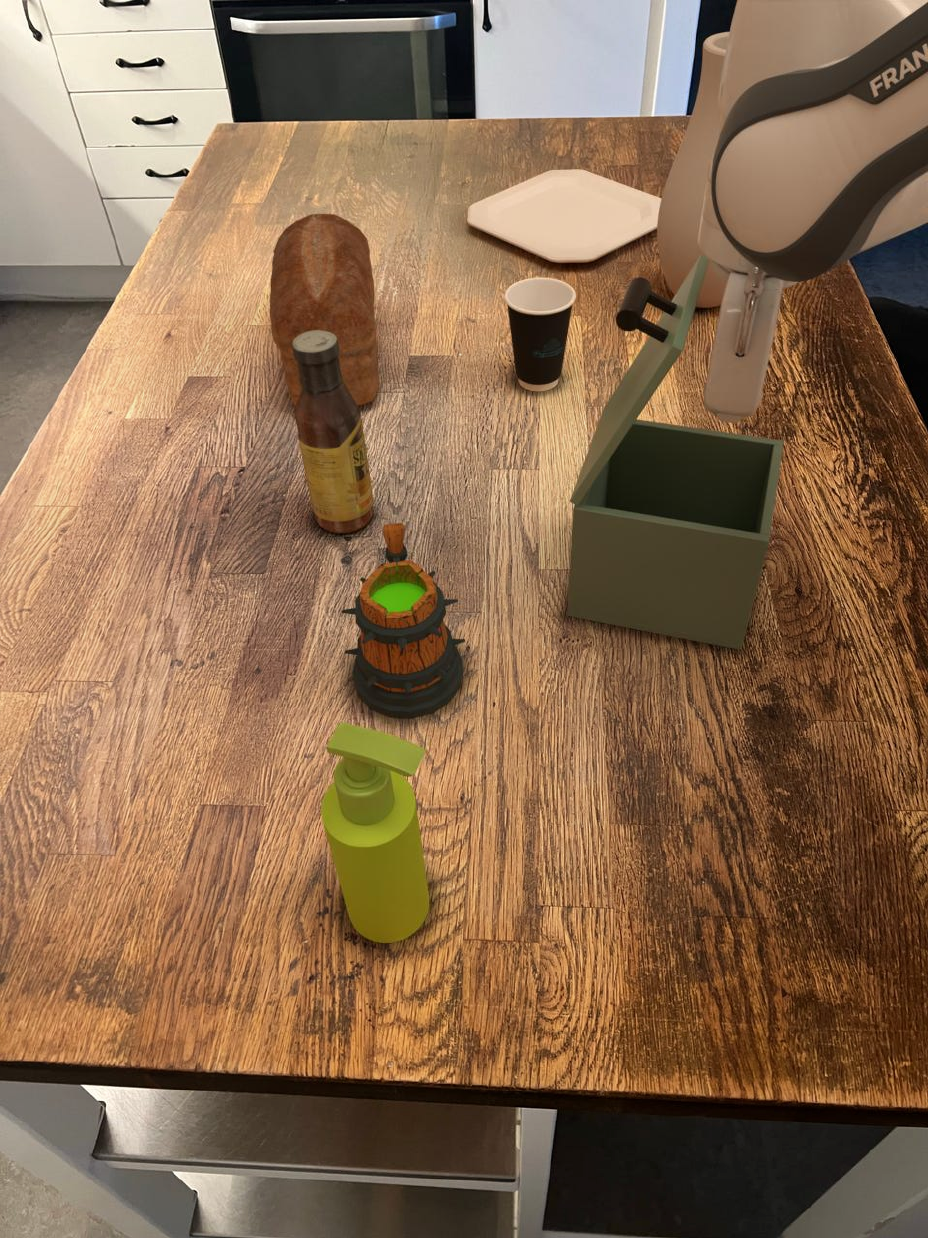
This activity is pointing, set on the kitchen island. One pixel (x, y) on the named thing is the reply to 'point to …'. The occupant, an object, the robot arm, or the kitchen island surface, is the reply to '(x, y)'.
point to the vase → (693, 183)
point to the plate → (567, 215)
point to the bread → (326, 299)
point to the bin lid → (641, 365)
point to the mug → (403, 637)
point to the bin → (676, 533)
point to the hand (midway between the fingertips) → (733, 397)
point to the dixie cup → (539, 329)
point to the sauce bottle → (331, 437)
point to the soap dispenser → (376, 832)
